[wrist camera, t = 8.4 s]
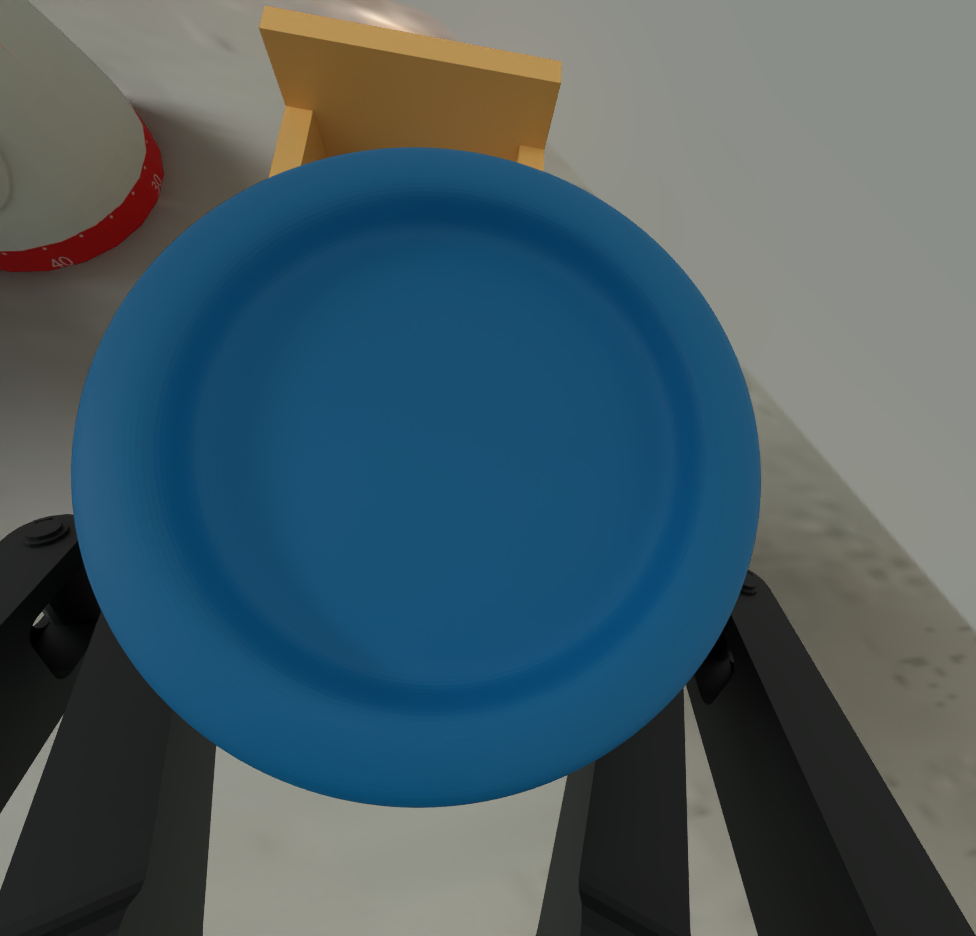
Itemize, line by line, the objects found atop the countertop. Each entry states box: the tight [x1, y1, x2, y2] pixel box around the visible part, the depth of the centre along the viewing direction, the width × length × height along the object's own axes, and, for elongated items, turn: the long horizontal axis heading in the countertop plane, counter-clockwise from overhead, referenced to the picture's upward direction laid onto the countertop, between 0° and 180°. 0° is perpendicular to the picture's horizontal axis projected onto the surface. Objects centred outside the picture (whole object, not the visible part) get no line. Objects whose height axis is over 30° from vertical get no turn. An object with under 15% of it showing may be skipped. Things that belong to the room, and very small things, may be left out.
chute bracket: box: [259, 6, 562, 178], centre depth 23 cm, size 15×15×8 cm
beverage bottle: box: [71, 147, 761, 808], centre depth 13 cm, size 8×8×20 cm
